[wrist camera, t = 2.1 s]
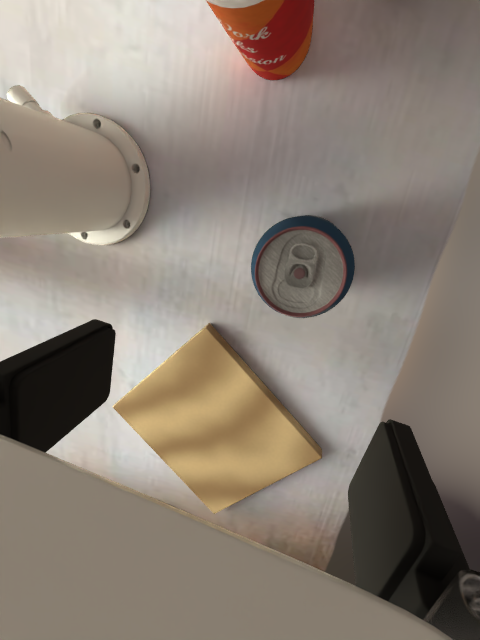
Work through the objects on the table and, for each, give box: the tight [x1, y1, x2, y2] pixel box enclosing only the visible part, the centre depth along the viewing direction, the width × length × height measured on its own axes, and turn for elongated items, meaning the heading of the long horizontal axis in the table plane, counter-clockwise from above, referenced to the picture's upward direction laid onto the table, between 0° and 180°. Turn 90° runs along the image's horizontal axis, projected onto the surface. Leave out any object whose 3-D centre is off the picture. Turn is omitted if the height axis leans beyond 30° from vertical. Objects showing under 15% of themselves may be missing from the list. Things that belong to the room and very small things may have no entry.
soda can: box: [251, 215, 355, 318], centre depth 25 cm, size 7×7×12 cm
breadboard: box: [113, 323, 322, 514], centre depth 39 cm, size 20×18×2 cm
